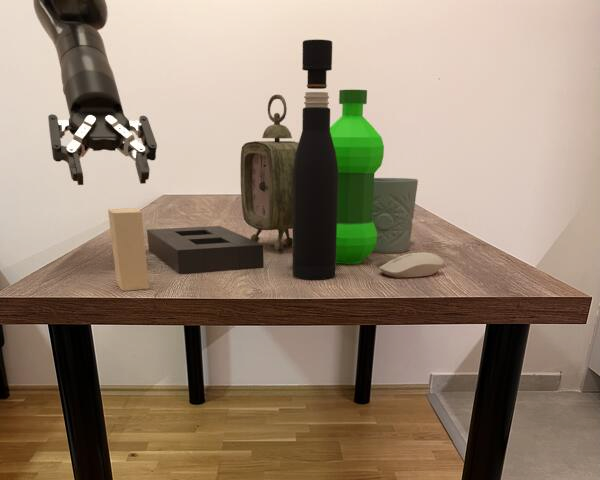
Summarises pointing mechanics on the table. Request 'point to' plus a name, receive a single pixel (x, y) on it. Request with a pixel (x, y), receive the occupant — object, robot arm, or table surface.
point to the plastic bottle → (355, 178)
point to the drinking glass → (393, 213)
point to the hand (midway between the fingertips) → (112, 180)
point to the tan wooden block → (128, 248)
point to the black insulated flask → (315, 174)
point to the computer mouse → (413, 265)
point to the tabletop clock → (269, 180)
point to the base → (204, 249)
